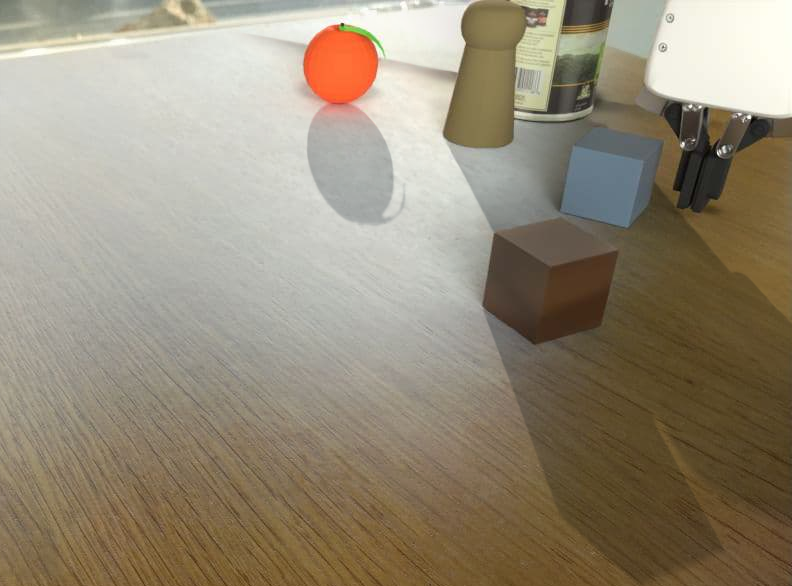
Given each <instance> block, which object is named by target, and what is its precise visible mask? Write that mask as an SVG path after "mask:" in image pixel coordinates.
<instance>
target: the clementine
mask: <svg viewBox="0 0 792 586" xmlns="http://www.w3.org/2000/svg"><path fill="white" fill-rule="evenodd" d="M375 44H376V45H377V46H378V48H379V49H380V51H381V52H382V55H383V57H384V60H385V61H387V58H386V54H385V50H384V48H383V45H382V44H381V43H380V40H379V39H377V37H375V35H374V34H372V33H371V32H370V31H368V30H367V29H364V28H361V27H359V26H355V25H351V24H347V23H346V24H345V22H340V23H339V24H331V25H328V26H325V28H323V29H321V30H320V31H319V32H317V33H316V34H315V35H314V36H313V38H311V40H310V41H309V43H308V45H307V47H306V49H305V52H304V56H303V62H302V68H303V69H302V70H303V75H304V78H305V81H306V83H307V85H308V87H309V88H310V89H311V91H312V92H313V94H315V95H316V96H317V97H318V98H320V99H322V100H323V101H325V102H329V103H332V104H339V105H340V104H347V103H351V102H354V101H356V100H358V99H360V98H361V97H362V96H364V95H365V94H366V93H367V92H368V91H369V90H370V89H371V88H372V86H373V84H374V82H375V80H376V78H377V73H378V69H379V53H378V51H377V48H376V45H375Z"/></svg>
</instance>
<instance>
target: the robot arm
mask: <svg viewBox="0 0 792 586" xmlns="http://www.w3.org/2000/svg"><path fill="white" fill-rule="evenodd" d="M655 29H656V30H655V33H654V35H653V38H652V39H653V40H652V42H651V45H650V49H649V53H648V56H647V60H646V64H645V69H644V77H643V84H642V86H641V88H640V90H639V92H638V93H637V95H636V98H635V103H636V105H637V106H638V107H639V108H641V109H643V110H645V111H647V112H650V113H651V114H653V115H656V116H658V117H662V118H664V119H665V120H666V122H667V124H668V125H669V127H670V128H671V130H672V131H673V133H674V134H675V136H676V138H677V139H678V145H679V148H680V149H681V150H682V152H681V156H680V160H679V163H678V167H677V170H676V174H675V178H674V181H673V185H672V191H675V192H678V193H679V195H678V200H677V203H676V209H679V210H686V209H690V210H692V213H695V214H696V213H697V214H702V213H703V211H704V209H705V208H706V207H707V205H708V204H709V203H710V202H711V200H715V201H718V200H719V199H720V197H721V196H722V193H723V191H724V188H725V184H726V182H727V178H728V175H729V171H730V169H731V164H732V162H733V159H734V155H736V154H737V153H739V152H741V151H742V150H745V149H746V148H748V147H750V146H751V145H753V144H755V143H757V142H758V141H760V140H762V139H764V138H766V139H767V138H771V139H778V138H779V139H783V138H786V139H787V138H792V0H665V2H664V4H663V7H662V11H661V13H660V17H659V20H658V23H657V26H656V28H655ZM711 109H716V110H721V111H726V112H732V113H731V115H730V117H729V119H728V121H727V123H726V126H725V127H724V130H723V132H722V134H721V136H720V137H719V138H718V139H717V140H716V141H715V142H714V144H711V140H710V138H711V136H710V135H709V128H710V127H709V126H710V117H711V111H712V110H711Z"/></svg>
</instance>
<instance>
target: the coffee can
mask: <svg viewBox="0 0 792 586" xmlns="http://www.w3.org/2000/svg"><path fill="white" fill-rule="evenodd" d="M506 1H510V2H514V3H517V4H518V5H520V6H521V7H522V8H523V9H524V11H525V14H526V18H527V25H526V31H525V33H524V36H523V38H522V40H521V41H520V42H519V43H518V44H517V46H516V65H515V103H514V119H517V120H523V121H529V122H530V121H531V122H544V123H545V122H548V123H549V122H551V123H552V122H555V123H556V122H568V121H574V120H580V119H583V118H585V117H587V116H589V115H590V114H591V113H592V112H593V110H594V102H595V97H596V92H597V87H598V82H599V76H600V71H601V67H602V62H603V57H604V52H605V46H606V41H607V37H608V32H609V27H610V22H611V18H612V14H613V13H612V12H613V8H614V3H615V0H506Z"/></svg>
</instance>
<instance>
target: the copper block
mask: <svg viewBox="0 0 792 586" xmlns="http://www.w3.org/2000/svg"><path fill="white" fill-rule="evenodd" d="M491 243H492V244H491V249H490V255H489V261H488V269H487V275H486V280H485V287H484V292H483V293H484V294H483V299H482V308H484V309H485V310H487V311H488V312H489V313H491V314H492V315H494V316H495V317H496V318H497V319H499V320H500V321H502V322H503V323H504V324H506V325H507V326H509V327H510V328H511V329H513V330H514V331H515V332H517V333H518V334H520V336H522V337H524V338H525V339H526V340H528V341H529V342H530V343H532V344H534V345H539V344H541V343H545V342H550V341H552V340H557V339H561V338H562V337H563V338H564V337H566V336H570V335H573V334H577V333H580V332H584V331H588V330H591V329H595V328H597V327H600V326H602V323H603V318H604V314H605V310H606V307H607V303H608V298H609V294H610V289H611V286H612V281H613V277H614V274H615V269H616V265H617V261H618V257H619V253H620V249H619V248H617V247H615V246H613V245H611V244H610V243H608V242H607V241H604V240H602V239H601V238H599V237H598V236H595V235H594V234H591V232H588V231H587V230H585V229H583V228H581V227H579V226H578V225H576V224H574V223H572V222H571V221H569V220H567V219H565V218H563V217H561V216H558V217H554V218H550V219H545V220H541V221H536V222H533V223H532V222H531V223H528V224H524V225H519V226H515V227H511V228H506V229H501V230H497V231H494V232H493V236H492V242H491Z"/></svg>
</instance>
